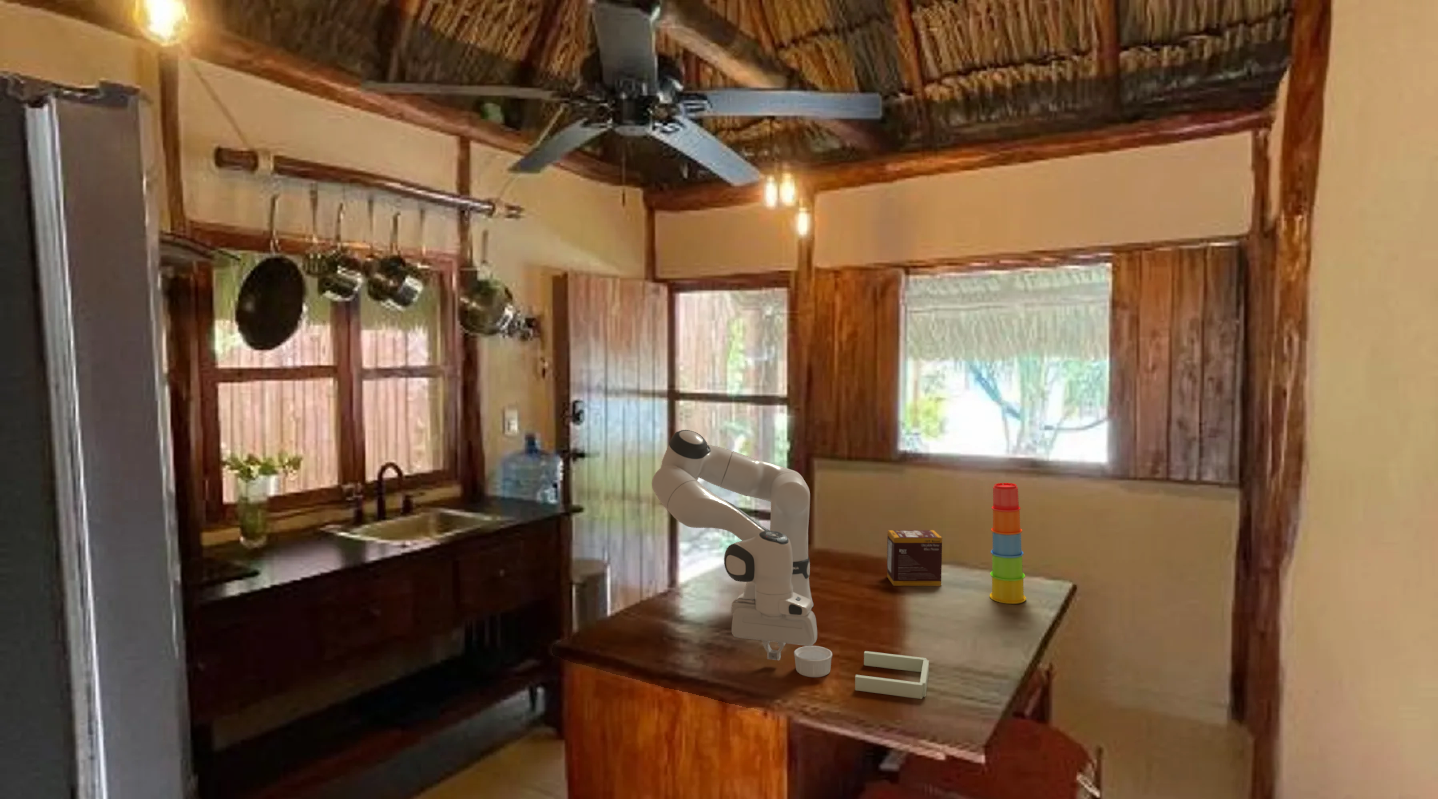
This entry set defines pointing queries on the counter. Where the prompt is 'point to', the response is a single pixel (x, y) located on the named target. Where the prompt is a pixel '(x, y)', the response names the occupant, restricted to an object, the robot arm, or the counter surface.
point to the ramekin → (813, 661)
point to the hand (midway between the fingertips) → (773, 658)
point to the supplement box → (914, 557)
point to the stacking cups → (1006, 546)
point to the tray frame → (891, 684)
